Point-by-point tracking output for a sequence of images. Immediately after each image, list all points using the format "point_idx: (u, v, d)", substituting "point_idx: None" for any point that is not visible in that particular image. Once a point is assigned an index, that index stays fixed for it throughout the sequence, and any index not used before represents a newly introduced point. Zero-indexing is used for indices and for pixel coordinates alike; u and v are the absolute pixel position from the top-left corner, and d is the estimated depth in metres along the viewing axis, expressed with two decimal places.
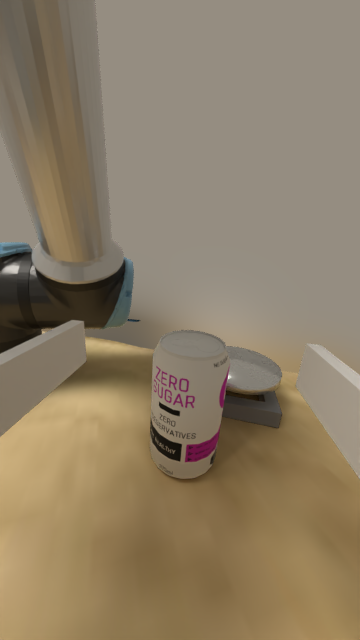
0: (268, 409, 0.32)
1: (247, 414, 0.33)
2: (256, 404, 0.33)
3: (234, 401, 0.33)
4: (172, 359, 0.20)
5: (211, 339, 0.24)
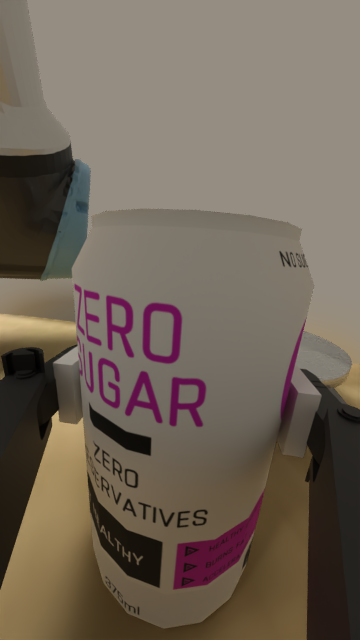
0: None
1: None
2: None
3: None
4: (117, 237, 0.05)
5: None
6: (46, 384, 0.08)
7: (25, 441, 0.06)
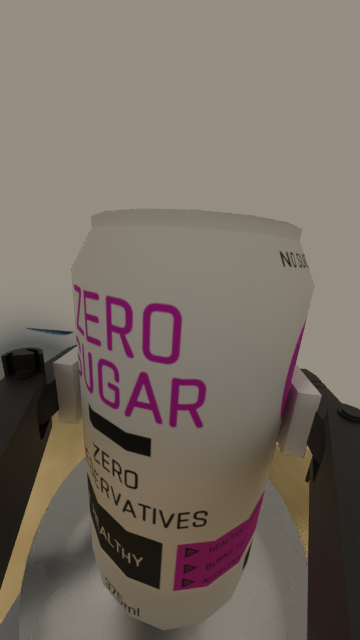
0: None
1: None
2: None
3: None
4: (117, 237, 0.05)
5: None
6: (46, 384, 0.08)
7: (25, 441, 0.06)
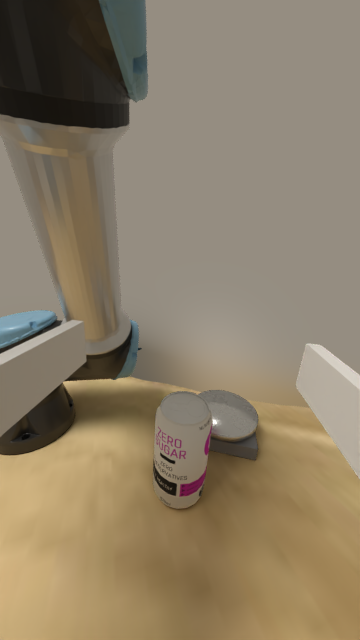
0: (247, 445, 0.40)
1: (230, 449, 0.41)
2: None
3: None
4: (169, 424, 0.28)
5: (199, 401, 0.32)
6: None
7: None
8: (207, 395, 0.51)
